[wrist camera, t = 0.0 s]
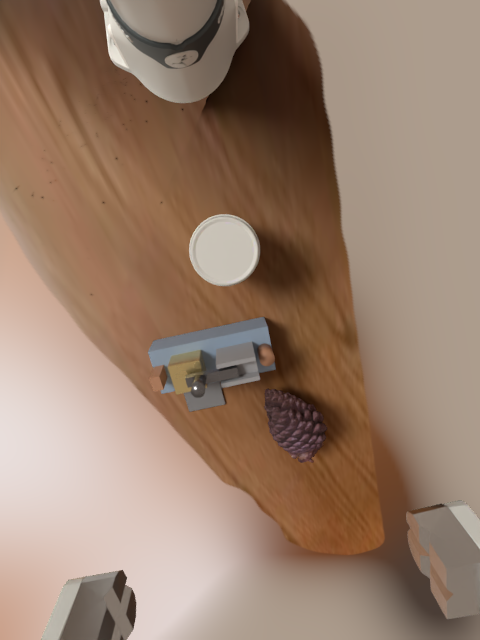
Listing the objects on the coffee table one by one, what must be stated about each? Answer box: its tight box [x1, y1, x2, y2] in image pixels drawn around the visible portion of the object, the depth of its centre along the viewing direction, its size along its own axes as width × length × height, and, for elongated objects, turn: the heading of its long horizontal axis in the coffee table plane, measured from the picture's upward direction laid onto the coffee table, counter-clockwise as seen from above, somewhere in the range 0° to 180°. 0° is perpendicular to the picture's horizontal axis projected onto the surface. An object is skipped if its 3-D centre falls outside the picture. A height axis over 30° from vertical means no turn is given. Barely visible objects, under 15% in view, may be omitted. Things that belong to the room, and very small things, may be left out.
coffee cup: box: [189, 214, 260, 286], centre depth 49 cm, size 9×9×12 cm
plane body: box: [148, 317, 276, 394], centre depth 56 cm, size 8×20×11 cm, turn 102°
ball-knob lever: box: [185, 365, 239, 398], centre depth 50 cm, size 2×8×4 cm, turn 102°
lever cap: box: [168, 350, 207, 394], centre depth 54 cm, size 5×5×4 cm
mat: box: [184, 381, 225, 412], centre depth 64 cm, size 6×7×1 cm
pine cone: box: [264, 389, 327, 463], centre depth 61 cm, size 18×10×10 cm, turn 34°
